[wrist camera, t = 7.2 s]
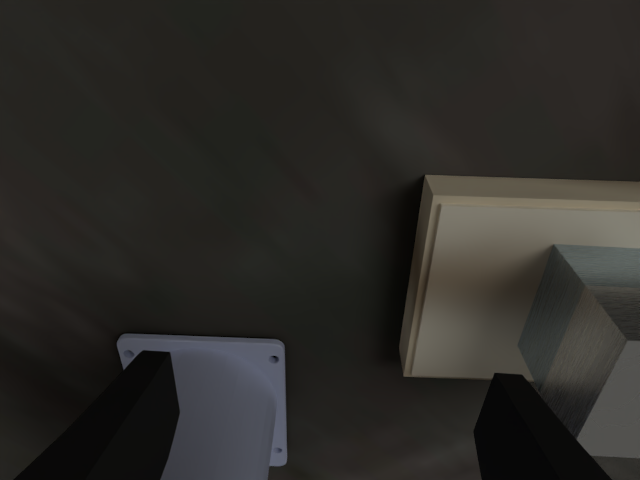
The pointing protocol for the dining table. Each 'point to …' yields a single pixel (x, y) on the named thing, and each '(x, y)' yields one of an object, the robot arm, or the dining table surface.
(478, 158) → the dining table surface
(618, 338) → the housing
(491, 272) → the cream flat block
